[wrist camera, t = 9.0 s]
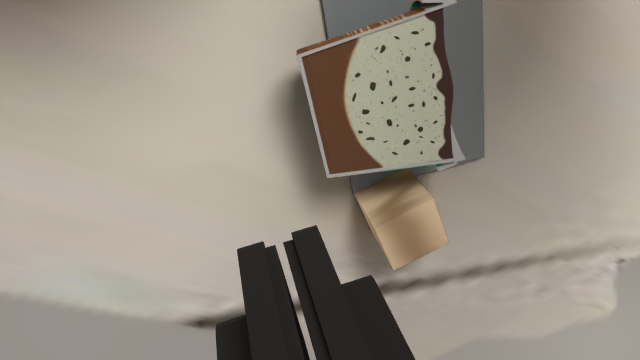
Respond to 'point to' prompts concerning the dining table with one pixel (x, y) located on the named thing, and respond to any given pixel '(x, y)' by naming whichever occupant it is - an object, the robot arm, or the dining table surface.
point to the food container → (383, 94)
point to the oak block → (402, 218)
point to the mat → (463, 58)
